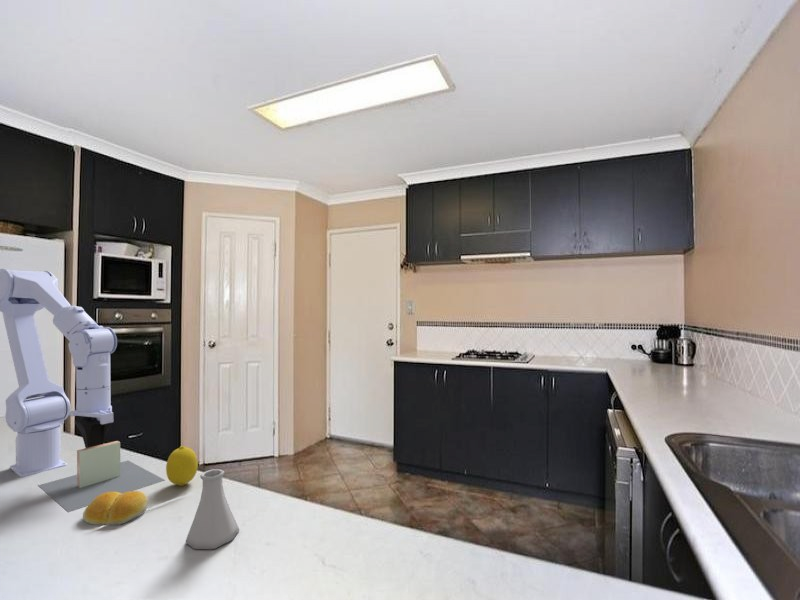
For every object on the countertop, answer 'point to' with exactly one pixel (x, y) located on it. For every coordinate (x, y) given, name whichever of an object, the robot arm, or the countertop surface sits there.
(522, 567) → the countertop surface
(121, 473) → the mat
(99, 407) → the robot arm
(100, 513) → the bread roll
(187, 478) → the lemon
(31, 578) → the countertop surface
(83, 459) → the tile
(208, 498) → the flask
